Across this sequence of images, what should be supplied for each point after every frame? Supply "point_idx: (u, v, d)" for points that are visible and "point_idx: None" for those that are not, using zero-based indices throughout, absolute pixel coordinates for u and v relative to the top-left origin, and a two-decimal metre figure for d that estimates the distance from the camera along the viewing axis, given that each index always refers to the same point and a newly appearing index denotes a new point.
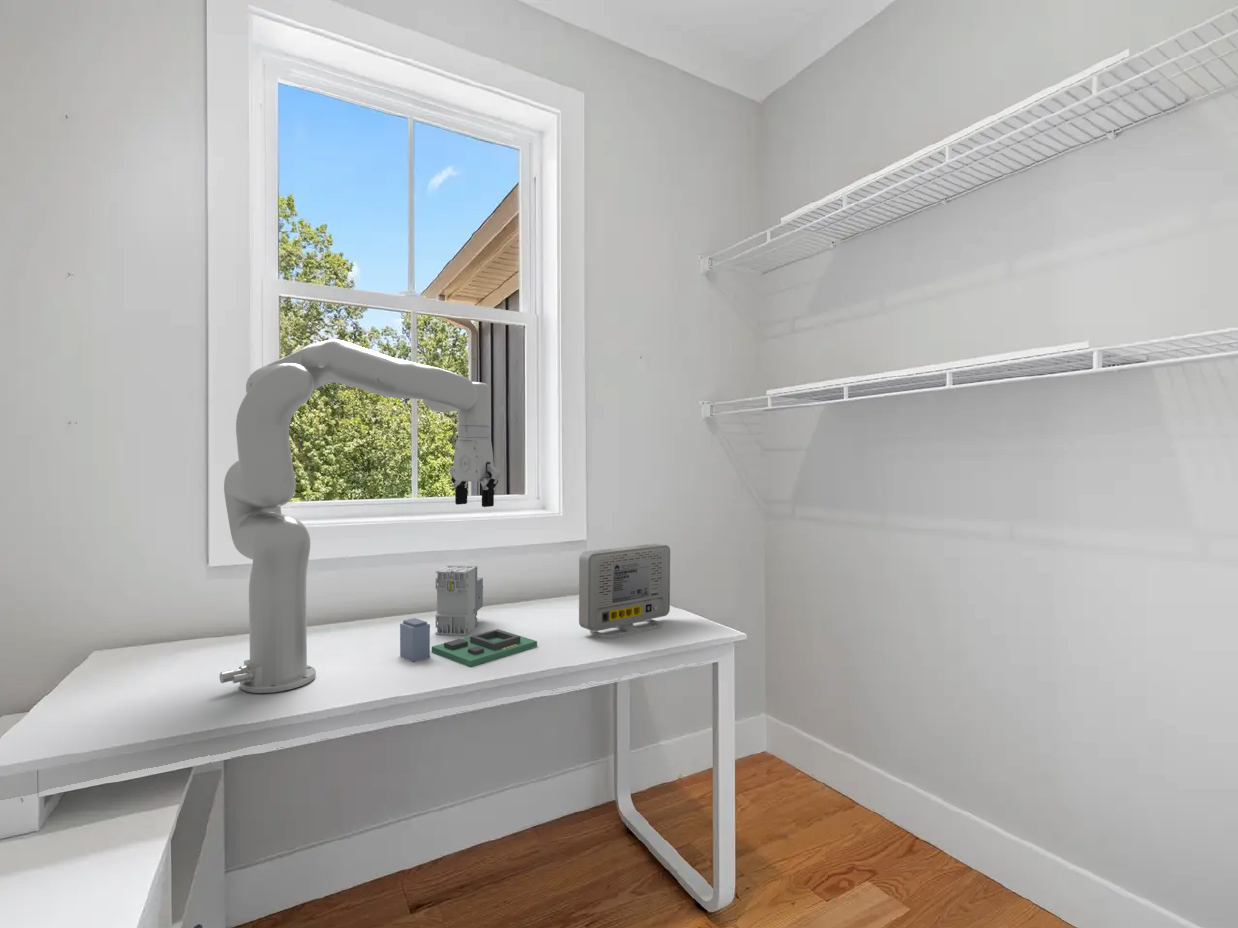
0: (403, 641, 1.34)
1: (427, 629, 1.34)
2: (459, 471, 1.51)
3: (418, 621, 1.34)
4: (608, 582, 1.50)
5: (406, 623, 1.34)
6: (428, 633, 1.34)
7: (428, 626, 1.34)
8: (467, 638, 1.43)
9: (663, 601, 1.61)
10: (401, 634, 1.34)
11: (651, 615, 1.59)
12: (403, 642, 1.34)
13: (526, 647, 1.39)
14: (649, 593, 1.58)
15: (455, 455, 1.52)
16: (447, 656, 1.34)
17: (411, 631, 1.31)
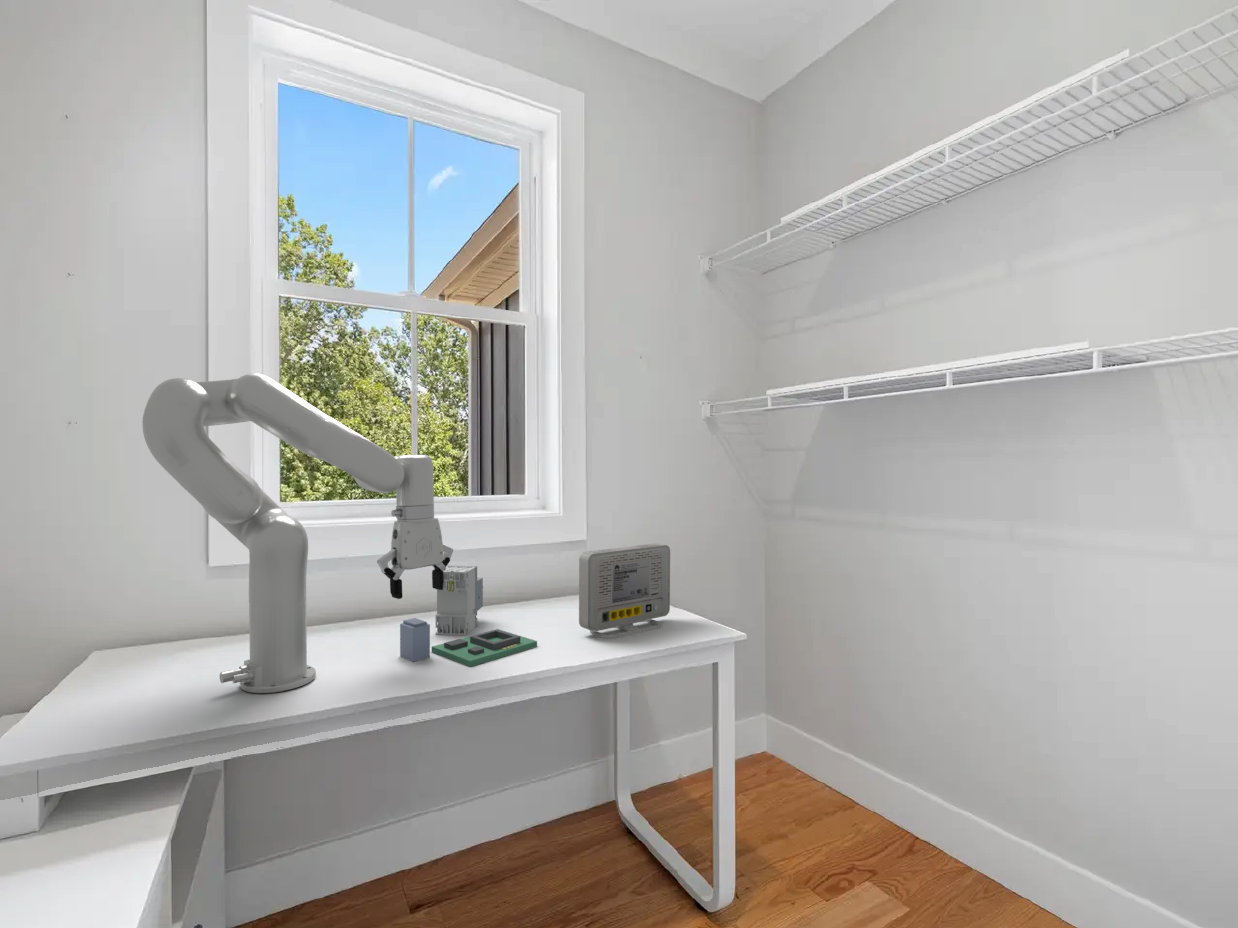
0: (403, 641, 1.34)
1: (427, 629, 1.34)
2: (415, 557, 1.31)
3: (418, 621, 1.34)
4: (608, 582, 1.50)
5: (406, 623, 1.34)
6: (428, 633, 1.34)
7: (428, 626, 1.34)
8: (467, 638, 1.43)
9: (663, 601, 1.61)
10: (401, 634, 1.34)
11: (651, 615, 1.59)
12: (403, 642, 1.34)
13: (526, 647, 1.39)
14: (649, 593, 1.58)
15: (406, 540, 1.30)
16: (447, 656, 1.34)
17: (411, 631, 1.31)
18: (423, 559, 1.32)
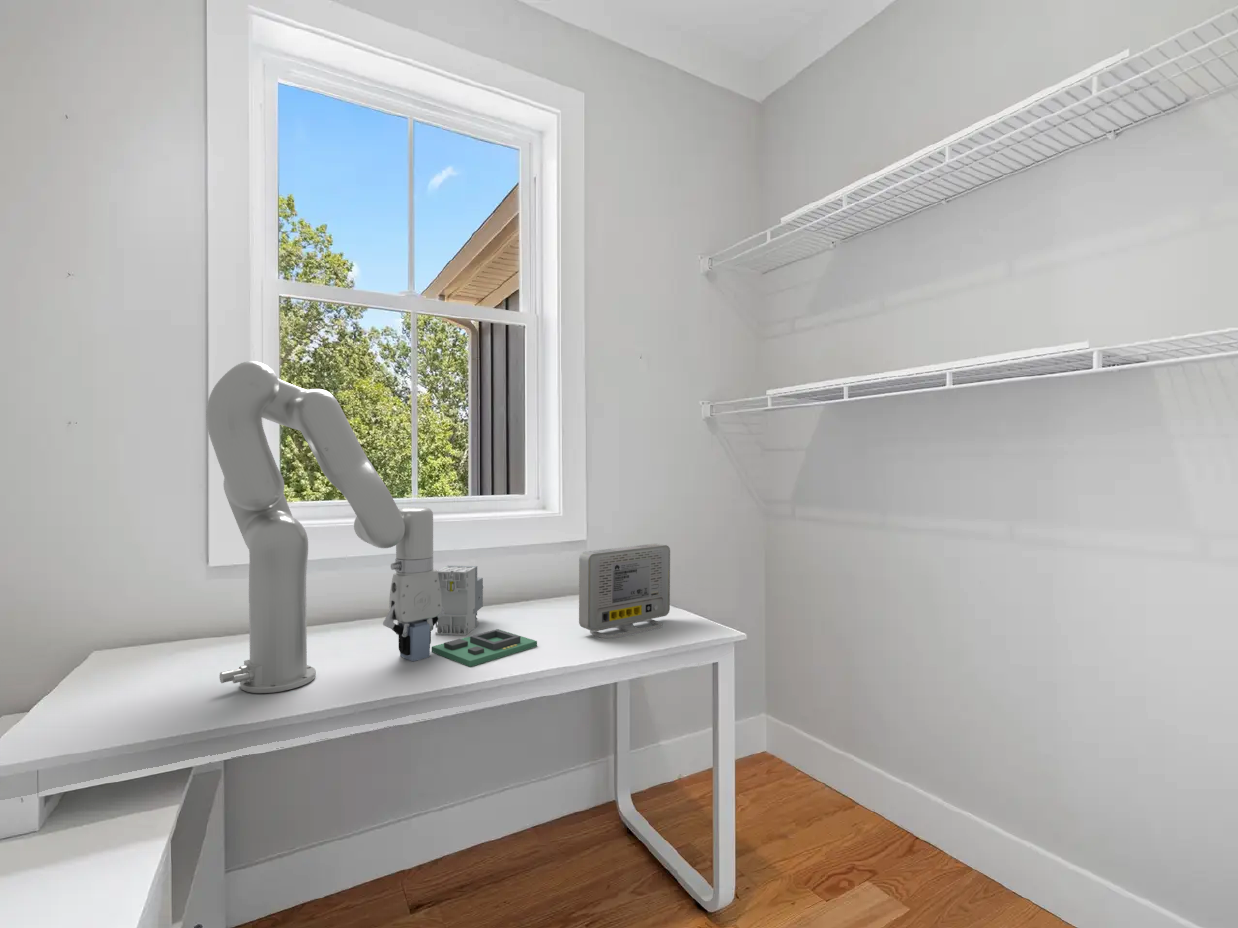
0: None
1: (427, 628, 1.34)
2: (413, 611, 1.31)
3: (418, 621, 1.34)
4: (608, 582, 1.50)
5: None
6: (428, 633, 1.34)
7: (428, 626, 1.34)
8: (467, 638, 1.43)
9: (663, 601, 1.61)
10: None
11: (651, 615, 1.59)
12: None
13: (526, 647, 1.39)
14: (649, 593, 1.58)
15: (405, 594, 1.30)
16: (447, 656, 1.34)
17: (411, 631, 1.31)
18: (421, 612, 1.32)
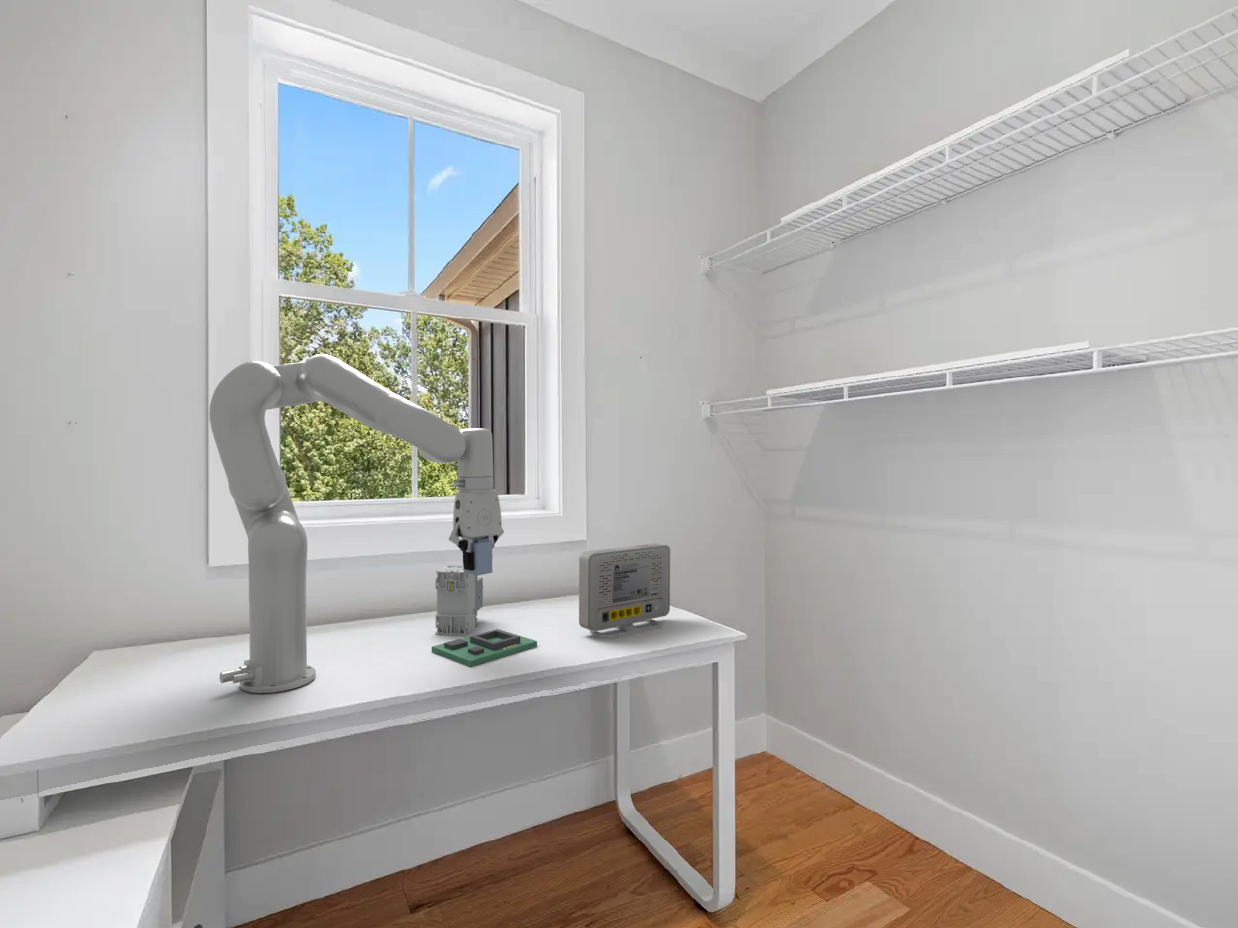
0: None
1: (489, 545, 1.38)
2: (477, 527, 1.35)
3: (480, 538, 1.38)
4: (608, 582, 1.50)
5: None
6: (490, 549, 1.38)
7: (490, 542, 1.38)
8: (467, 638, 1.43)
9: (663, 601, 1.61)
10: None
11: (651, 615, 1.59)
12: None
13: (526, 647, 1.39)
14: (649, 593, 1.58)
15: (469, 510, 1.34)
16: (447, 656, 1.34)
17: (475, 547, 1.36)
18: (484, 529, 1.37)
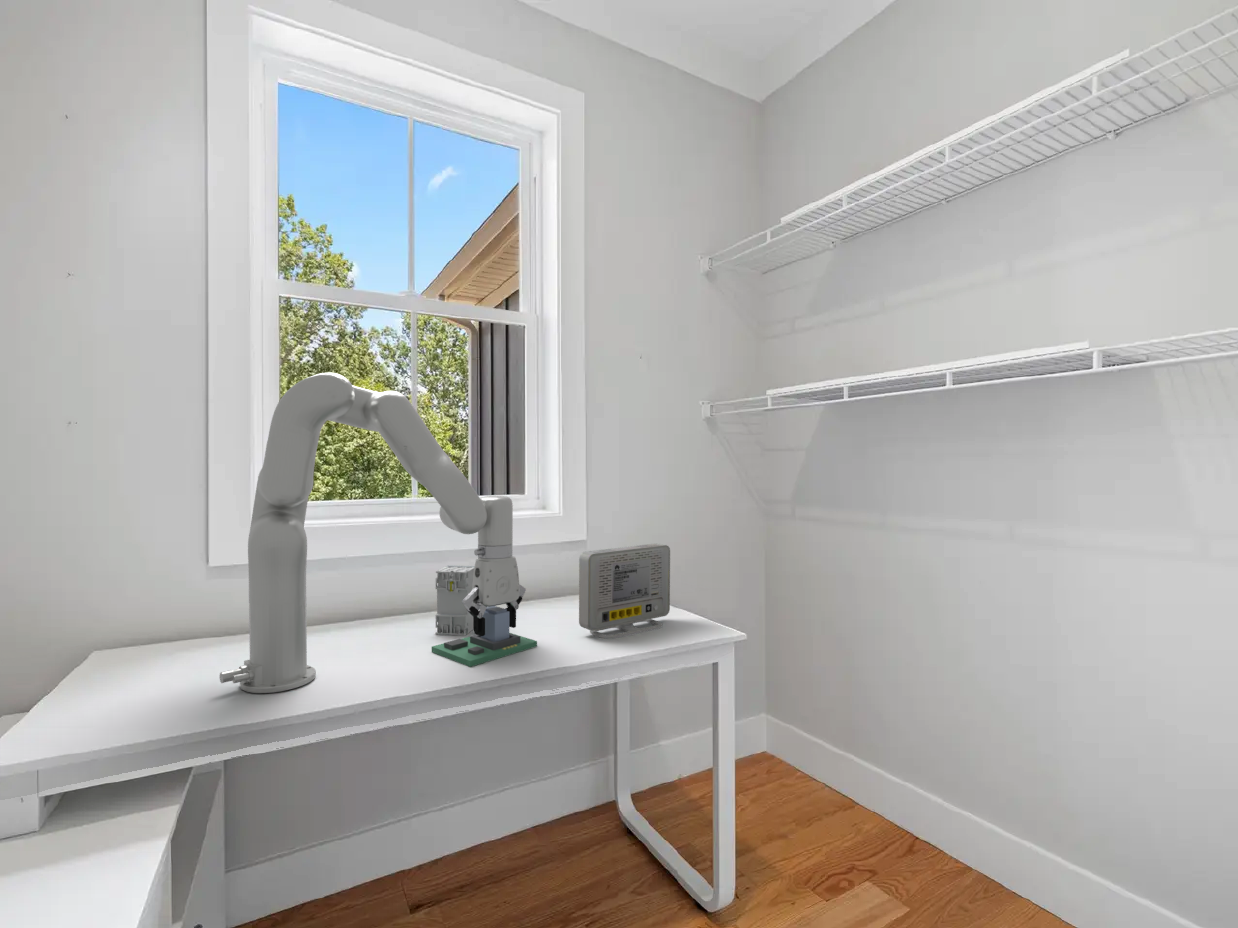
0: None
1: (507, 616, 1.40)
2: (495, 595, 1.37)
3: (498, 608, 1.40)
4: (608, 582, 1.50)
5: (487, 610, 1.40)
6: (508, 620, 1.40)
7: (508, 613, 1.40)
8: (467, 638, 1.43)
9: (663, 601, 1.61)
10: None
11: (651, 615, 1.59)
12: None
13: (526, 647, 1.39)
14: (649, 593, 1.58)
15: (488, 579, 1.36)
16: (447, 656, 1.34)
17: (493, 618, 1.37)
18: (502, 596, 1.38)
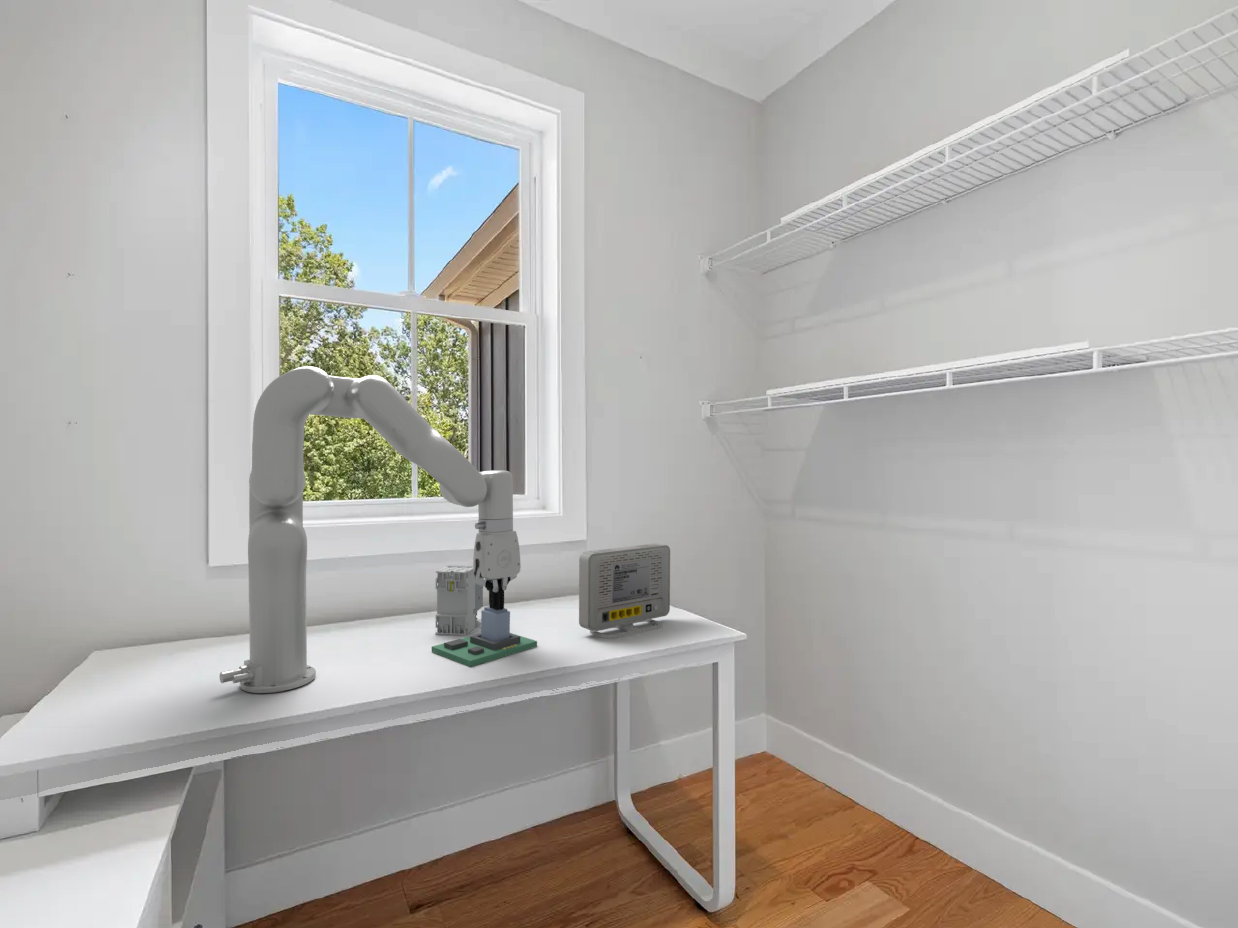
0: (484, 627, 1.40)
1: (507, 616, 1.40)
2: (496, 569, 1.37)
3: None
4: (608, 582, 1.50)
5: (487, 610, 1.40)
6: (508, 620, 1.40)
7: (508, 613, 1.40)
8: (467, 638, 1.43)
9: (663, 601, 1.61)
10: (482, 620, 1.40)
11: (651, 615, 1.59)
12: (484, 628, 1.40)
13: (526, 647, 1.39)
14: (649, 593, 1.58)
15: (489, 552, 1.36)
16: (447, 656, 1.34)
17: (494, 618, 1.38)
18: (503, 570, 1.38)
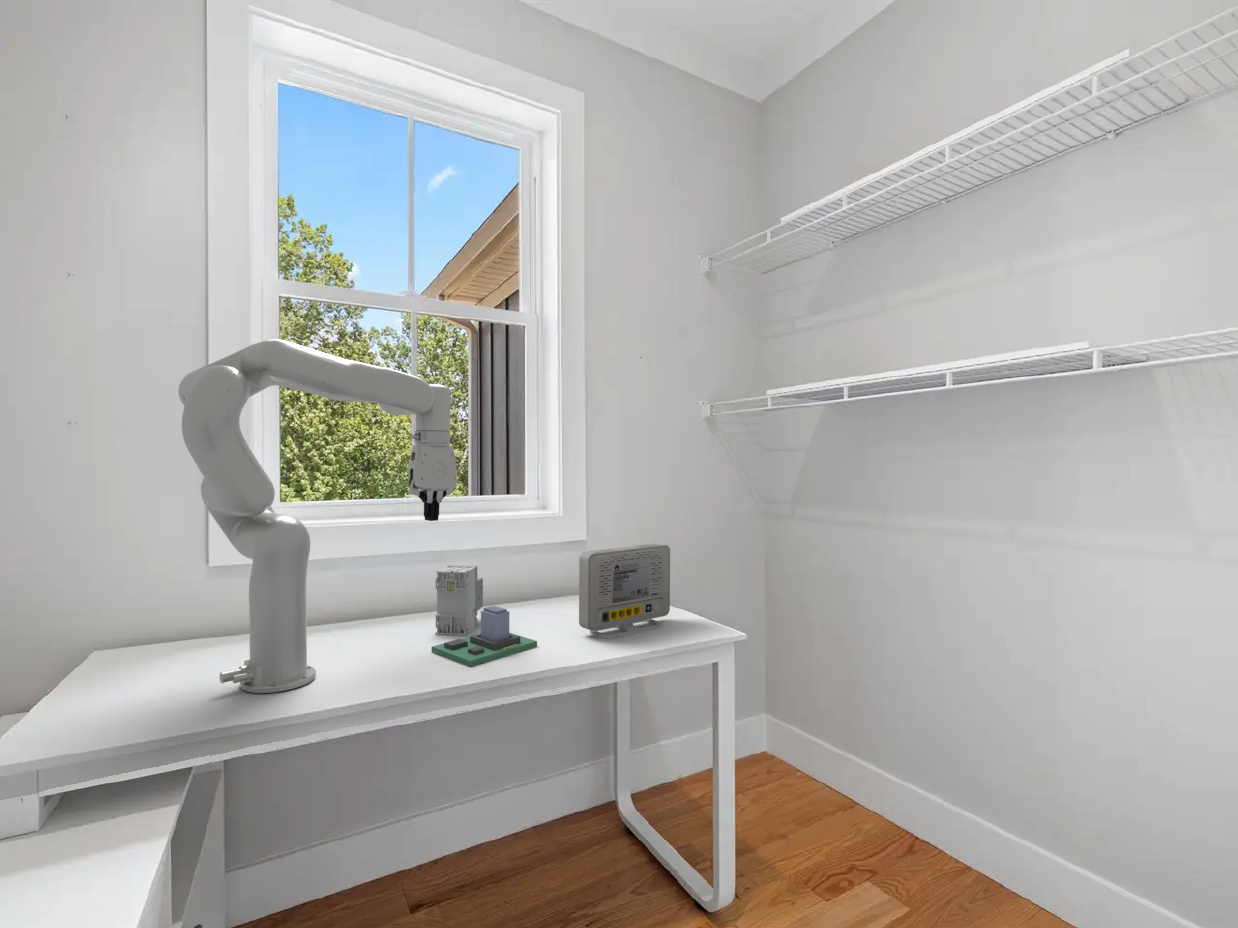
0: (484, 628, 1.40)
1: (507, 616, 1.40)
2: (430, 479, 1.40)
3: (498, 608, 1.40)
4: (608, 582, 1.50)
5: (487, 610, 1.40)
6: (508, 620, 1.40)
7: (508, 613, 1.40)
8: (467, 638, 1.43)
9: (663, 601, 1.61)
10: (482, 620, 1.40)
11: (651, 615, 1.59)
12: (484, 628, 1.40)
13: (526, 647, 1.39)
14: (649, 593, 1.58)
15: (423, 462, 1.39)
16: (447, 656, 1.34)
17: (493, 618, 1.37)
18: (438, 481, 1.41)
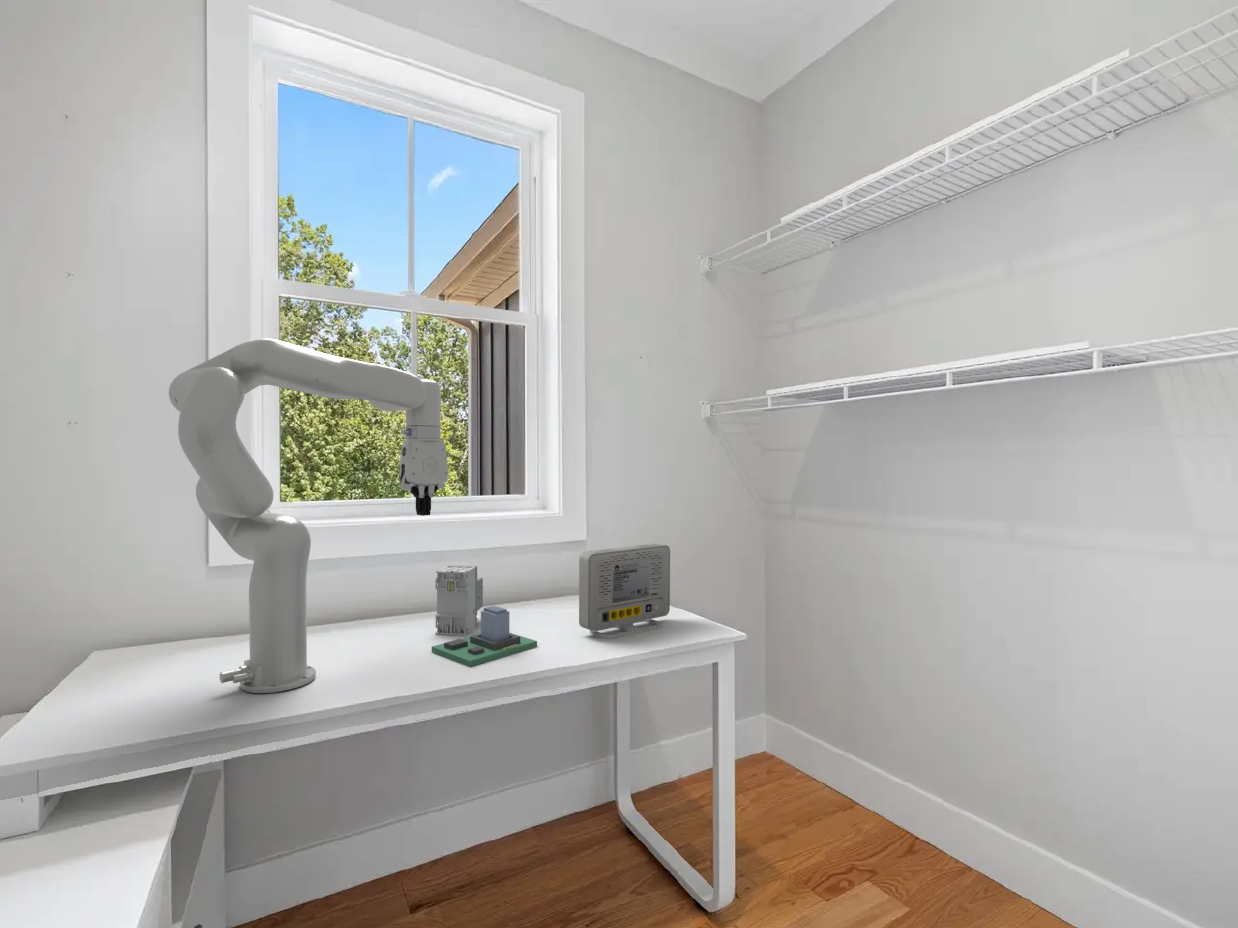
0: (484, 628, 1.40)
1: (507, 616, 1.40)
2: (422, 474, 1.41)
3: (498, 608, 1.40)
4: (608, 582, 1.50)
5: (487, 610, 1.40)
6: (508, 620, 1.40)
7: (508, 613, 1.40)
8: (467, 638, 1.43)
9: (663, 601, 1.61)
10: (482, 620, 1.40)
11: (651, 615, 1.59)
12: (484, 628, 1.40)
13: (526, 647, 1.39)
14: (649, 593, 1.58)
15: (414, 457, 1.40)
16: (447, 656, 1.34)
17: (493, 618, 1.37)
18: (429, 476, 1.42)
